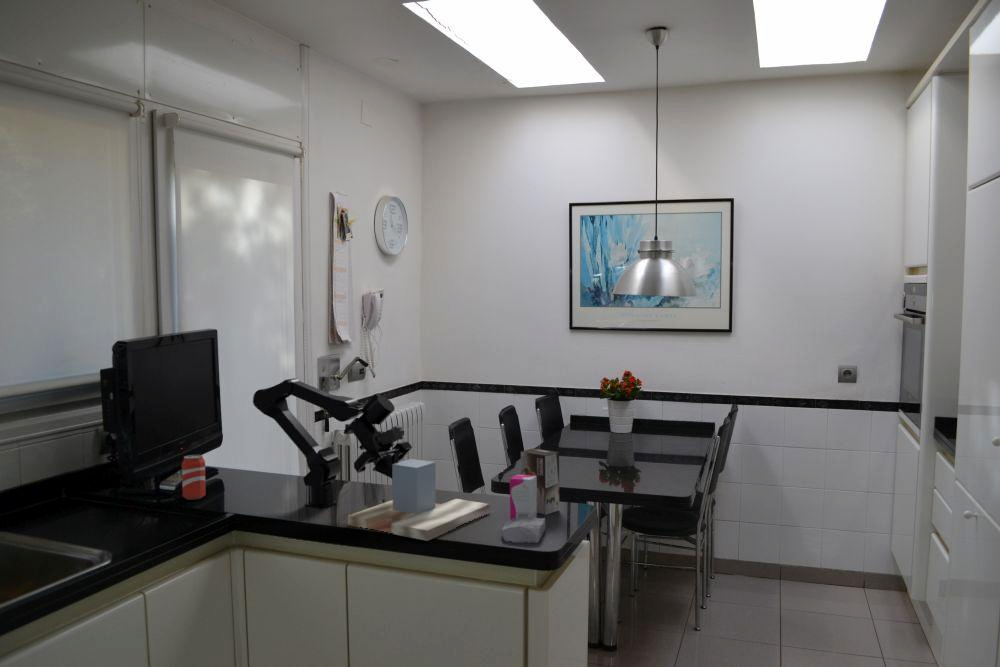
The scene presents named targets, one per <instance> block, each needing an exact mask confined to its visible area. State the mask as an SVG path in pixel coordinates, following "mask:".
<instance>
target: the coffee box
mask: <svg viewBox="0 0 1000 667" xmlns="http://www.w3.org/2000/svg"><path fill="white" fill-rule="evenodd" d="M520 475H533V476H537V514H540V515H550V514H553V513H557V512H559V511H560V452H559V451H552V450H546V449H542V448H531V449H525V450H522V451H520Z"/></svg>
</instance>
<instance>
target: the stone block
mask: <svg viewBox="0 0 1000 667" xmlns="http://www.w3.org/2000/svg"><path fill="white" fill-rule="evenodd" d="M545 530H546V518H545V517H544V518H540V517H539V518H538V517H537V518H534V517H524V516H523V517H519V518H514V519H510V518H509V519H508V521H507V522H505V524H504V525H503V527H502V528H501V535H502V538H503V541H505V542H508V541H512V542H511V543H520V542H521V543H524V542H528V543H527V544H531V543H532V544H538V543H539V542H540V540H541V538H542V536H543V534H544V532H545Z"/></svg>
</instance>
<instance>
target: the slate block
mask: <svg viewBox="0 0 1000 667" xmlns="http://www.w3.org/2000/svg"><path fill="white" fill-rule="evenodd" d="M391 479H392V500H393V510H396V511H402V512H407V513H413V514H419V513H422V512H424V511H427V510H429V509H432V508H435V507H436V503H437V500H436V495H437V493H436V461H428V460H421V459H415V458H409V459H406V460H403V461H402V460H401V461H398V463H395V464H392V478H391Z"/></svg>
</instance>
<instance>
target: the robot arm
mask: <svg viewBox="0 0 1000 667" xmlns="http://www.w3.org/2000/svg"><path fill="white" fill-rule="evenodd" d="M290 396H293V397H296V398H298V399H300V400H303V401H304V402H306V403H310V404H311V405H314V406H317V407H319V408H321V409H322V410H324V411H325V412H326V413H327V414H328V415H329V416H330V417H332V418H333V419H334V420H336V421H338V422H347V421H350V420H352V421H351V422H350V423H346V424H344V425H345V426H344V429H343V430H344V431H343V434H344V435H354V436H355V438H356V440H358V442H359V443H360V446H359V447H358V448H359V449H360V451H362V450H363V451H362V453H361V454H360V455H359V456H358V457H357V458H356V460H355V461H354V462H353V469H354V470H355V471H356V473H357V474H360V473H362V472H365V471H366V465H369V464H371V463H372V464H373V465H374V467H373V468H372V471H373V472H377V473H379V474H382V475H384V476H386V477H388V478H390V479H392V464H395V463H399V462H401V461H402V460H403V459H404V458H405V456H406V455H407V454H408V453H409V452H410V451H411V450H412V448H413V446H412V445H411V443H410V442H409V441H401V440H403V439H404V437H403V436H404V435H405V430H404V429H403V427H402V426H400V425H399V424H397V425H394V426H392V427H391V429H388V430H385V431H383V430H380V431H378V429H377V427H375V425H379V426H380V425H381V424H382V423H383V422H385V421H386V420H387V418H389V416H391V414H392V413H393V412H394V411H395V405H394V404H393V403H392V401H391V400H389V399H388V398H387V397H385V396H382V395H381V394H380V393H379V392H378V393H374V394H373V395H372V396H371V398H370V399H369V401H367V403H361V402H360V401H359V400H358V399H355V398H353V397H349V396H344V395H336V394H335V395H334V394H331V393H329V392H326V391H325V390H322V389H319V388H316V387H315V386H312V385H310V384H307V383H306V382H303V381H301V380H299V379H298V378H295V377H293V378H289V379H288V378H287V379H284V380H283V381H280V383H278V384H275V385H273V386H270V387H266V388H261V389H258V390H256V391H255V392H254V394H253V396H252V398H253V399H252V404H253V406H254V407H255V408H256V409H257V410H258V411H259V412H261V413H262V414H263V415H265V416H266V417H269V418H270V419H272V420H274V421H275V422H276V424H277V425H278V426H279V427H280V428H281V429H282V431H283V432H284V433H285V434H286V435H287V436H288V438H289V439H290V440H291V441H292V443H293V444H294V445H295V446H296V447H297V448H298V449H299V451H300V453H301V454H303V456H304V457H305V459H306V465H307V467H308V470H309V472H308V473H307V474H305V476H304V477H303V478H302V479H303V483H304V485H305V486H306V487H308V488H307V490H308V493H307V494H308V502H305V503H304V506H306V507H311V506H312V508H316V507H317V508H318V509H324V508H326V507H330V506H332V505H336V504H337V503H338V502H337V501H336V500H334V495H335V494H334V493H335V492H334V487H333V484H334V483H333V481H336V479H337V476H338V474H339V473H340V472H341V469H342V462H341V460H340V455H338V454H337V453H336V452H335V451H334V449H333V448H332V447H331V446H327V447H323V446H320V445H319V443H318V442H317V441H316V440H315V439H314V437H313V436H312V435H311V434H310V433H309V431H308V430H307V429H306V428H305V427H304V426H303V425H302V423H301V422H300V420H298V419H297V417H296V416H295V415H294V414H293V412H291V410H290V409H289V407H288V406H289V405H288V401H287V398H289V397H290ZM399 440H400V441H401V442H398V443H396V444H395V442H397V441H399ZM391 448H392V449H391Z"/></svg>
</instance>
